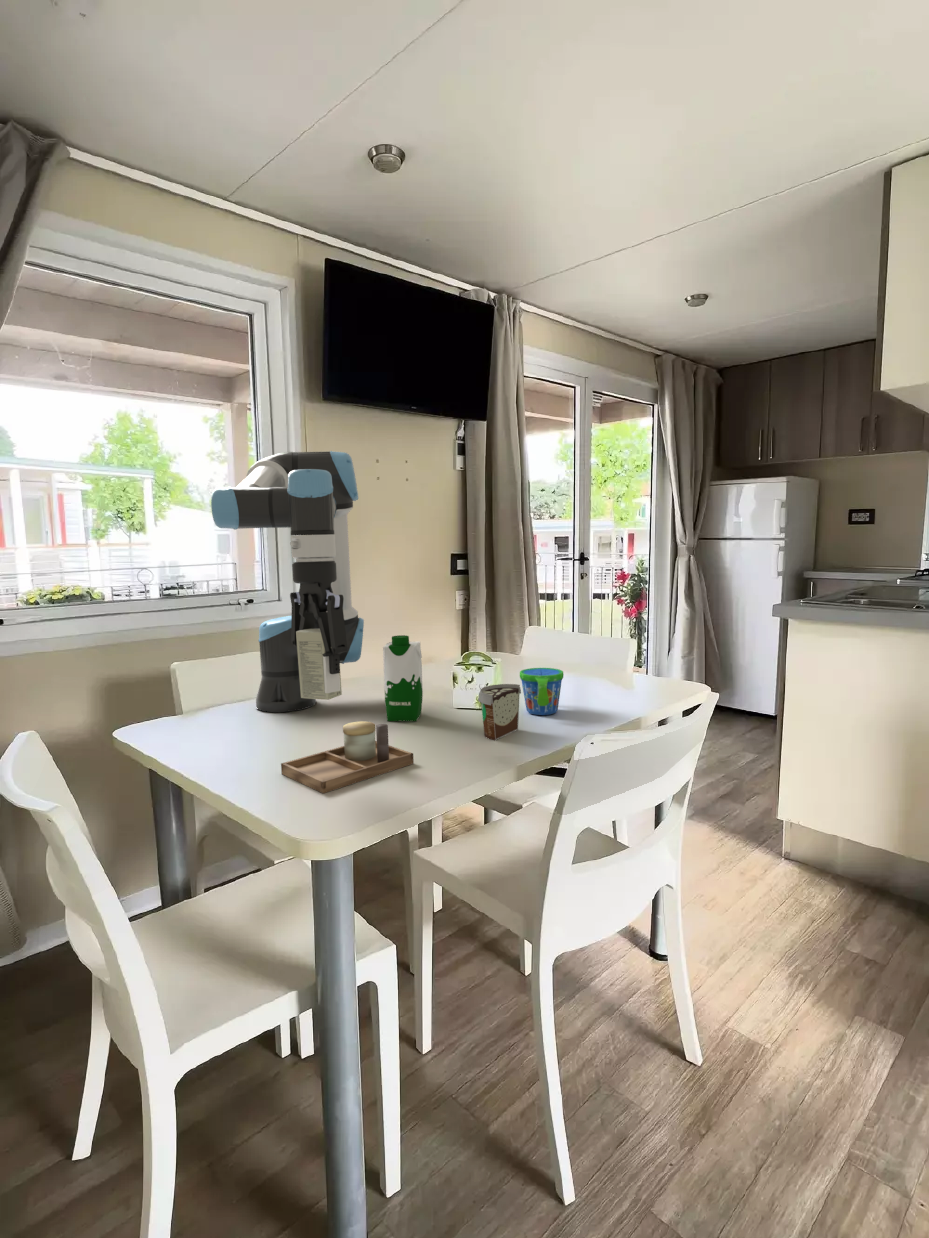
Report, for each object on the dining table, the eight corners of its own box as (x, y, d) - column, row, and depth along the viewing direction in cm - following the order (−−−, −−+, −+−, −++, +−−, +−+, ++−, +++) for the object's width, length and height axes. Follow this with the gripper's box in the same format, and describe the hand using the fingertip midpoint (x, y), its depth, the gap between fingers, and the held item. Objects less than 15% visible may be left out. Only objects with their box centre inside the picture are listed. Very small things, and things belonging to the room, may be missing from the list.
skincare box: (342, 695, 119) (339, 628, 117) (328, 701, 115) (325, 631, 113) (313, 692, 121) (310, 627, 120) (298, 698, 117) (295, 630, 116)
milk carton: (382, 722, 154) (379, 638, 152) (390, 712, 163) (387, 632, 161) (419, 722, 154) (416, 637, 151) (425, 712, 163) (423, 632, 160)
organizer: (281, 773, 122) (279, 732, 121) (369, 748, 135) (368, 711, 134) (323, 793, 112) (321, 748, 111) (413, 763, 125) (412, 723, 125)
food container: (498, 724, 151) (497, 681, 150) (521, 728, 147) (521, 684, 146) (467, 737, 141) (466, 692, 140) (491, 742, 137) (490, 695, 136)
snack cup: (523, 703, 169) (522, 664, 168) (564, 704, 167) (564, 665, 166) (516, 720, 154) (516, 677, 152) (562, 721, 152) (562, 678, 150)
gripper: (266, 560, 120) (273, 684, 122) (327, 561, 105) (333, 701, 108) (302, 558, 125) (309, 677, 128) (365, 559, 111) (371, 693, 113)
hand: (320, 688), depth 118 cm, fingers closed on skincare box, 7 cm apart
